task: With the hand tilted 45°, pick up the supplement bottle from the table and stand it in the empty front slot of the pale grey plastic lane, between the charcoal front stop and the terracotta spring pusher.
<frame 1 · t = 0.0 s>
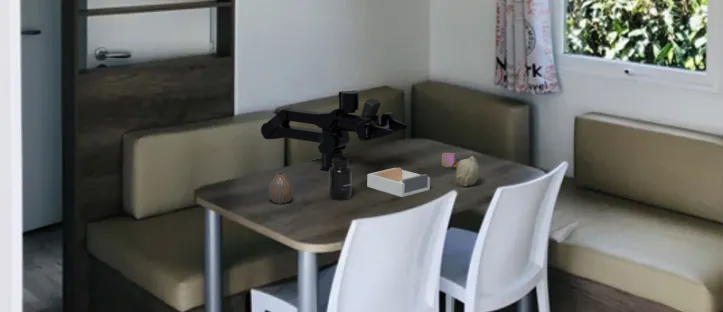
hand: (399, 129, 305), 17 cm above the table, tool horizontal, fingers open, 9 cm apart
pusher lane: (403, 189, 298), on the table
garlic bulb: (465, 186, 303), on the table
supplement bottle: (340, 198, 290), on the table
spring pusher: (387, 175, 302), point 3 cm above the table, slide at 0.0 cm
perfume bottle: (456, 167, 327), on the table
vase: (280, 202, 284), on the table
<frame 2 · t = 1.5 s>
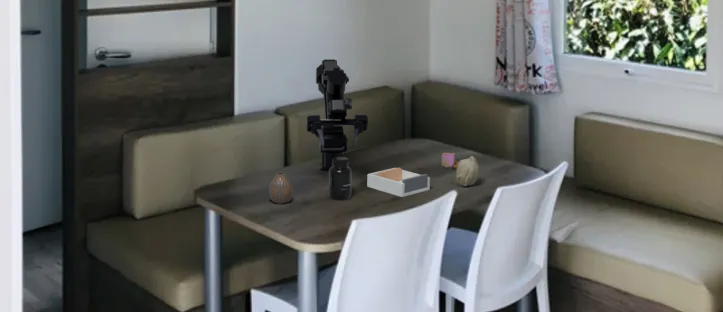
hand: (338, 146, 294), 14 cm above the table, tool tilted 45°, fingers open, 9 cm apart
nothing on the table moved.
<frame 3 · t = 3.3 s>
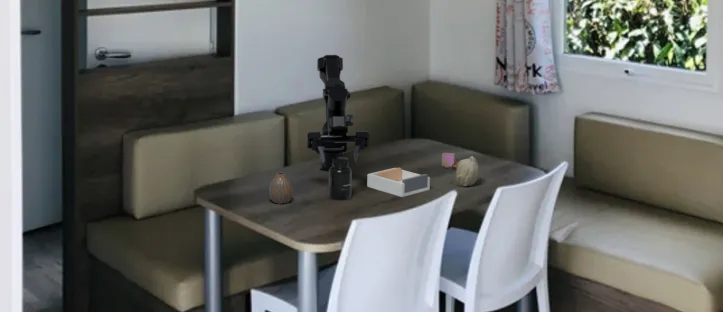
hand: (339, 163, 290), 10 cm above the table, tool tilted 45°, fingers open, 9 cm apart
nothing on the table moved.
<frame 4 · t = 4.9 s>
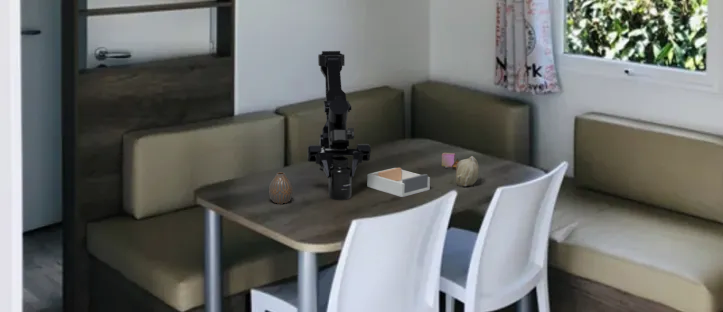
hand: (340, 177, 287), 7 cm above the table, tool tilted 45°, fingers closed on supplement bottle, 7 cm apart
supplement bottle: (340, 198, 290), on the table, touching gripper
everything else where it was.
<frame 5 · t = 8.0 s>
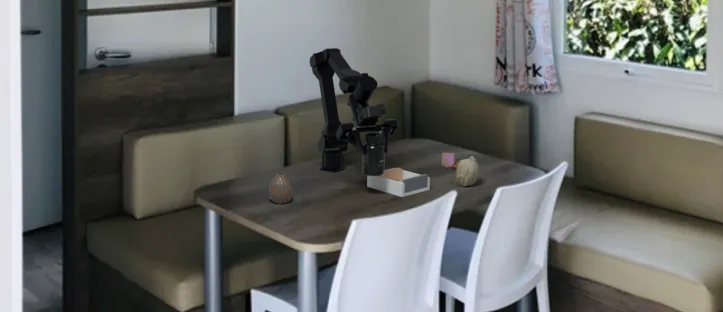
hand: (375, 153, 288), 13 cm above the table, tool tilted 45°, fingers closed on supplement bottle, 7 cm apart
supplement bottle: (373, 174, 291), point 6 cm above the table, touching gripper
everything else where it was.
when the fingers open (9 cm above the table, at t = 11.0 s): supplement bottle drops 1 cm, resting on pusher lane.
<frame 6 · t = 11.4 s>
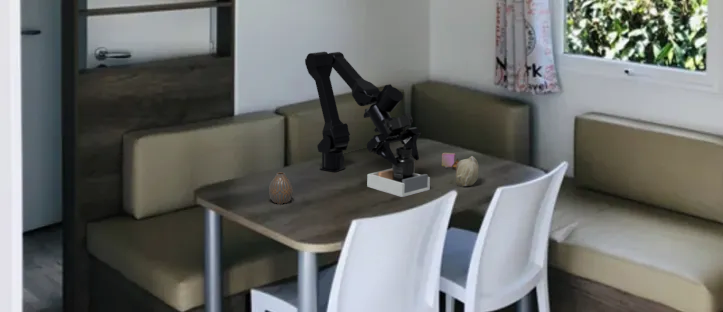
hand: (407, 162, 295), 9 cm above the table, tool tilted 45°, fingers open, 9 cm apart
supplement bottle: (403, 187, 298), point 1 cm above the table, touching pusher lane
everything else where it was.
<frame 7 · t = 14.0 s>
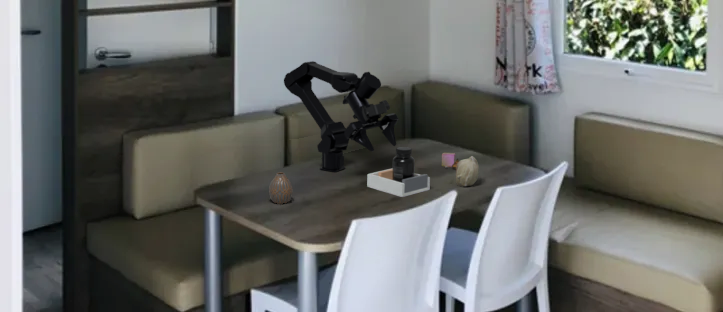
hand: (384, 148, 301), 12 cm above the table, tool tilted 45°, fingers open, 9 cm apart
nothing on the table moved.
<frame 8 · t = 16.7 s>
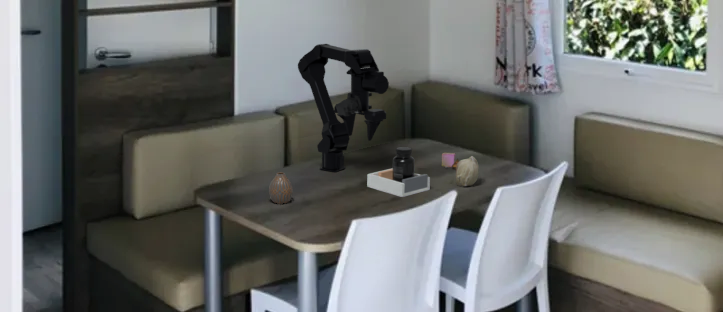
hand: (359, 138, 308), 13 cm above the table, tool pointing down, fingers open, 9 cm apart
nothing on the table moved.
at the end: supplement bottle inside the target area on the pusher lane (0.2 cm from its centre), point 0.8 cm above the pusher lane's base; supplement bottle tilted 0°; the gripper is holding nothing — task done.
